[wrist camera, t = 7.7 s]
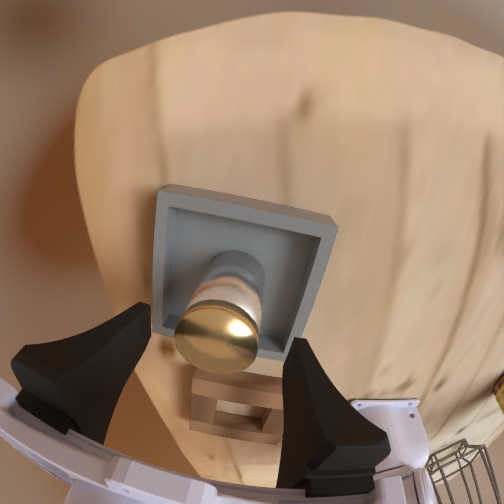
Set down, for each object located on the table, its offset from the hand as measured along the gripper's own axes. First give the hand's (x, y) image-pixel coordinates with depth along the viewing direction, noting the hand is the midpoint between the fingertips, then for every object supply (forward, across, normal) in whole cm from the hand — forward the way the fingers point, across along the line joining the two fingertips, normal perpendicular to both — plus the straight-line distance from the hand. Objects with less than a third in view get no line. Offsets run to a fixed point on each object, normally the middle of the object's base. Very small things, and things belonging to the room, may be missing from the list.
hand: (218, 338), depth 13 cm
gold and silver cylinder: (+6, 0, 0) cm, 6 cm away
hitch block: (+7, -3, +15) cm, 17 cm away
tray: (+7, 0, 0) cm, 7 cm away
